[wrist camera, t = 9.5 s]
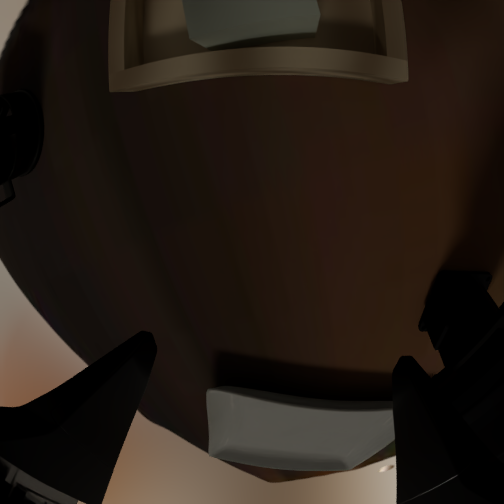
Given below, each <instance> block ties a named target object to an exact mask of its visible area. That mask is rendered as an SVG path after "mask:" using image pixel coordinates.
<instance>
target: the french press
mask: <svg viewBox="0 0 504 504" xmlns="http://www.w3.org/2000/svg"><path fill="white" fill-rule="evenodd" d="M9 108H10V109H11V111H12V115H11V116H7V117H5V116H6V114H7V112H8V110H9ZM15 133H16V153H15V160H14V163H13V162H12V161H11V160H10V159H9V157H8V155H7V153H6V151H5V147H4V142H3V137H5V136H8V135H12V134H15ZM43 136H44V125H43V116H42V112H41V107H40V105H39V102H38V100H37V98H36V97H35V95H34V94H33V93H32V92H31V91H29V90H27V89H19V90H16V91H14V92H13V93H8V94H3V95H0V185H3V189H4V192H5V196H6V199H5V200H4V201H2V202H0V207H1V206H3V205H5V204H6V203H8V202H10V201H12V200H13V199H14V198H15V192H14V188H13V185H12V181H11V180H12V179H14V178H16V177H18V176H20V177H22V176H25V175H27V174H29V173H30V172H31V171H32V170H33V169H34V168H35V166H36V164H37V162H38V160H39V157H40V154H41V150H42V145H43Z"/></svg>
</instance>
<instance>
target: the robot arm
mask: <svg viewBox="0 0 504 504" xmlns="http://www.w3.org/2000/svg"><path fill="white" fill-rule="evenodd" d="M443 276H444V277H443ZM442 277H443V278H442ZM491 279H492V275H491V274H490V273H489V272H471V271H441V272H440V273H439V274H438V276H437V279H436V282H435V284H434V287H433V290H432V293H431V295H430V297H429V299H428V302H427V304H426V307H425V309H424V312H423V314H422V318H421V320H420V322H419V325H418V328H419V330H420V331H422V332H423V331H427V332H428V334H429V337H430V339H431V342H432V344H433V347H434V349H435V350H439V353H440V356H441V358H442V361H443V364H444V366H445V368H444V369H442V370H441V371H440V372H439V373H438V374H435V375H434V376H433V377H432V378H430V377H429V375H428V374H427V373H426V372H425V371H424V370H423V368H422V367H421V366H420V365H419V364H418V363H417V361H416V360H415V359H414V358H413V357H412V356H401V357H400V358H399V360H398V362H397V364H396V366H395V368H394V370H393V373H392V388H393V421H394V433H395V447H396V470H397V501H396V502H397V504H504V302H503V303H502V305H501V306H500V307H499V308H500V309H499V308H498V306H497V305H496V303H495V302H494V300H493V299H492V297H491V296H490V295H489V293H488V292H487V289H488V287H489V284H490V282H491ZM156 354H157V346H156V343H155V340H154V337H153V334H152V333H151V332H147V331H140V332H139V333H137V334H136V335H134V336H133V337H131V338H130V339H128V340H127V341H125V342H124V343H122V344H121V345H119V346H118V347H116V348H115V349H113V350H112V351H110V352H109V353H108V354H106V355H105V356H103V357H102V358H100V359H99V360H97V361H96V362H94V363H93V364H91V365H90V366H88V367H87V368H85V369H84V370H83V371H81V372H79V373H78V374H76V375H75V376H74V377H73V378H71V379H69V380H67V381H66V382H65V383H63V384H61V385H60V386H58V387H57V388H55V389H53V390H51V391H49V392H48V393H46V394H44V395H42V396H40V397H38V398H36V399H34V400H33V401H31V402H29V403H27V404H25V405H22V406H19V407H0V504H77V502H78V500H79V501H81V502H84V503H86V504H102V501H103V499H104V496H105V493H106V490H107V487H108V484H109V481H110V479H111V476H112V473H113V469H114V467H115V465H116V462H117V459H118V457H119V454H120V451H121V449H122V446H123V444H124V441H125V438H126V436H127V433H128V431H129V428H130V426H131V423H132V421H133V418H134V416H135V413H136V411H137V408H138V406H139V404H140V401H141V399H142V396H143V394H144V392H145V389H146V387H147V384H148V380H149V377H150V374H151V370H152V367H153V363H154V360H155V357H156Z"/></svg>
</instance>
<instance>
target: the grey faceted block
mask: <svg viewBox="0 0 504 504" xmlns="http://www.w3.org/2000/svg"><path fill="white" fill-rule="evenodd" d="M182 4H183V9H184V14H185V19H186V24H187V29H188V34H189V39H190V40H192V41H194V42H196V43H198V44H200V45H201V46H203V47H205V48H207V49H208V50H210V51H218V50H227V49H238V48H244V47H249V46H254V45H259V44H265V43H271V42H278V41H285V40H294V39H303V38H314V37H315V35H316V31H317V27H318V23H319V19H320V15H321V14H320V11H319V7H318V4H317V0H182Z"/></svg>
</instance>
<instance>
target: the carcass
mask: <svg viewBox="0 0 504 504" xmlns="http://www.w3.org/2000/svg"><path fill="white" fill-rule="evenodd" d="M317 4H318V7H319V11H320V14H321V15H320V19H319V23H318V27H317V31H316V35H315V37H314V38H303V39H294V40H285V41H278V42H271V43H265V44H259V45H254V46H249V47H244V48H238V49H227V50H218V51H210V50H208V49H207V48H205V47H203V46H201V45H200V44H198V43H196V42H194V41H192V40H190V39H189V34H188V29H187V24H186V19H185V14H184V9H183V4H182V0H111V3H110V17H109V90H110V92H136V91H140V90H145V89H149V88H154V87H159V86H164V85H170V84H176V83H182V82H188V81H196V80H203V79H212V78H222V77H234V76H250V75H311V76H327V77H339V78H349V79H357V80H365V81H372V82H378V83H384V84H395V83H400V82H405V81H408V59H407V44H406V33H405V24H404V16H403V8H402V2H401V0H317Z"/></svg>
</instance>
